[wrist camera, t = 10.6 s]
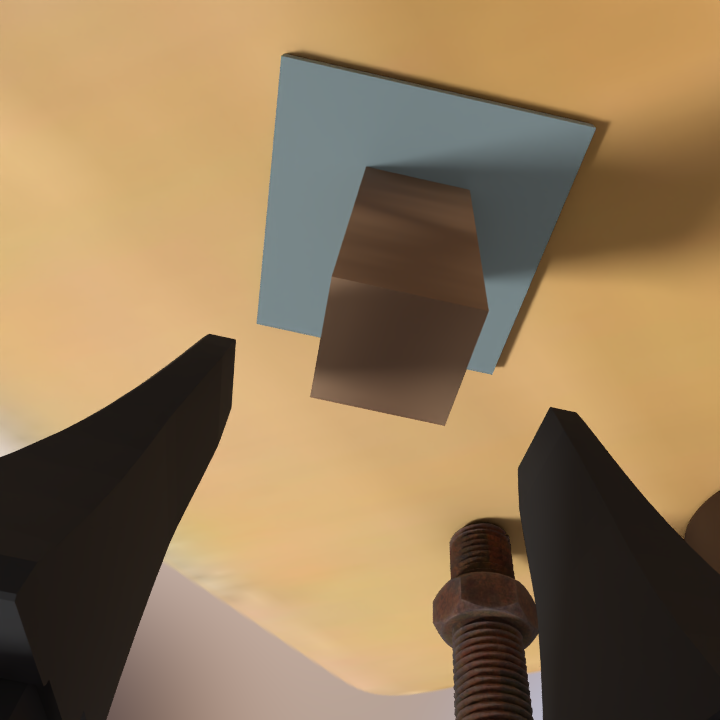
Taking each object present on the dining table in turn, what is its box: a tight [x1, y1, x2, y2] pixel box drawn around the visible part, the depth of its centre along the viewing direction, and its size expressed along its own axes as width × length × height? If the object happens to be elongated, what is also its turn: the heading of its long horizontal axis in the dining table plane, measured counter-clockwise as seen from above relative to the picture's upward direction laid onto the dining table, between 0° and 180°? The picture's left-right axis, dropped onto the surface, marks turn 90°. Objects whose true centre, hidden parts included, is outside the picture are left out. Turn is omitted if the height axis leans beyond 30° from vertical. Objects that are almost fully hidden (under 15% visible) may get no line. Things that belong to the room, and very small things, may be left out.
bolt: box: [433, 523, 539, 720], centre depth 24 cm, size 6×5×15 cm
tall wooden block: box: [310, 167, 489, 426], centre depth 17 cm, size 4×4×8 cm
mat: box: [257, 54, 596, 375], centre depth 20 cm, size 10×10×1 cm
